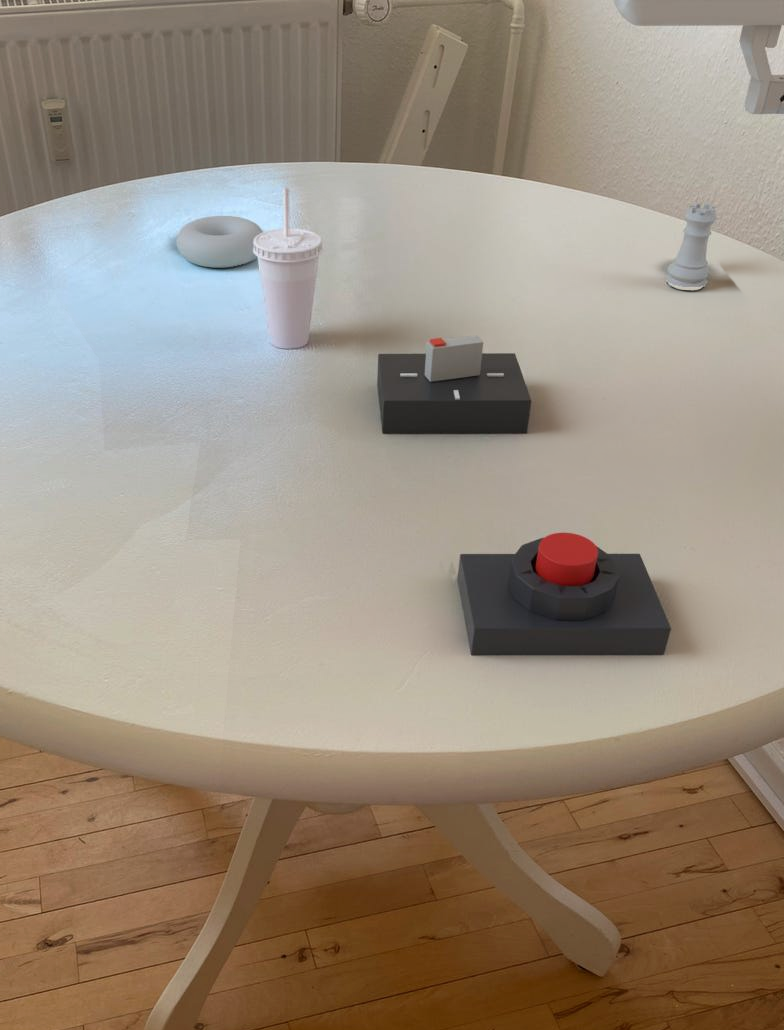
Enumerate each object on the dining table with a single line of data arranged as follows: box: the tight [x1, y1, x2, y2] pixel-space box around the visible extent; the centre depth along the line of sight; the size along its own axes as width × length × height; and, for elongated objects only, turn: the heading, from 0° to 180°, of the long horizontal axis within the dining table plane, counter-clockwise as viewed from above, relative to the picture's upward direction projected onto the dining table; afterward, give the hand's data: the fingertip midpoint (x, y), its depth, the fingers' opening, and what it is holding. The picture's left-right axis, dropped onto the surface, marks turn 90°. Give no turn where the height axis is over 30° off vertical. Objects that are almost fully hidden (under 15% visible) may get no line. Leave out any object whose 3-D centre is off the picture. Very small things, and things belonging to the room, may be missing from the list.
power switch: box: [456, 537, 672, 656], centre depth 68 cm, size 12×8×4 cm, turn 90°
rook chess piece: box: [665, 202, 718, 287], centre depth 110 cm, size 4×4×8 cm
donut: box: [176, 215, 264, 269], centre depth 119 cm, size 10×4×10 cm
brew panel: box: [376, 352, 532, 434], centre depth 90 cm, size 12×9×3 cm
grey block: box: [425, 335, 484, 382], centre depth 88 cm, size 4×1×3 cm, turn 106°
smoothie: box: [253, 186, 324, 350], centre depth 98 cm, size 6×6×14 cm
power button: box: [536, 532, 598, 586], centre depth 66 cm, size 4×4×2 cm
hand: (772, 112), depth 62 cm, fingers closed
